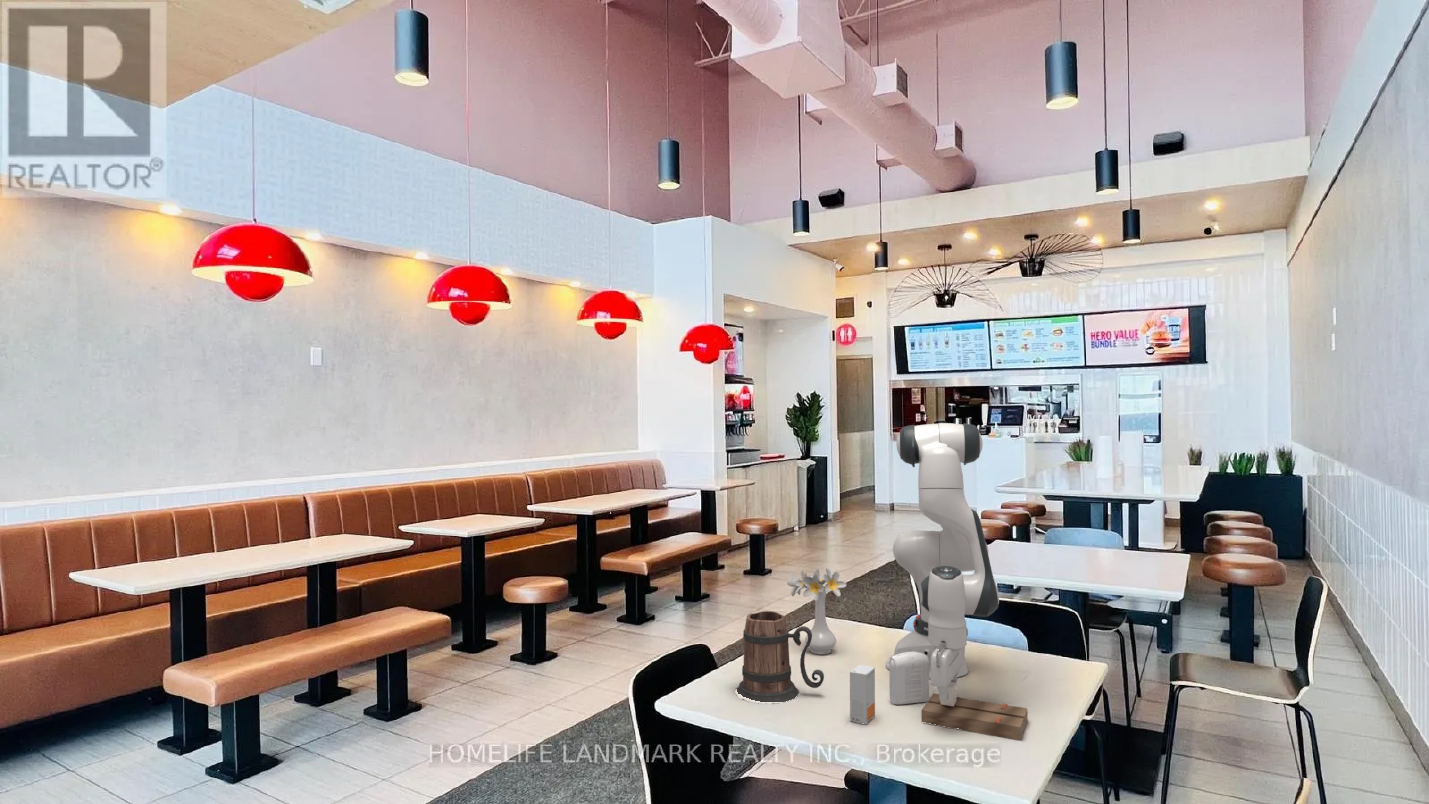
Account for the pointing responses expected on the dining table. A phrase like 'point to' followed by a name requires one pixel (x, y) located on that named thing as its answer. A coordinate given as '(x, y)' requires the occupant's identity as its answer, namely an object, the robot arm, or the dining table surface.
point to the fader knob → (950, 695)
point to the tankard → (771, 659)
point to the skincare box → (862, 694)
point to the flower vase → (818, 606)
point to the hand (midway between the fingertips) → (948, 693)
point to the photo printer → (909, 678)
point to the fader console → (977, 717)
